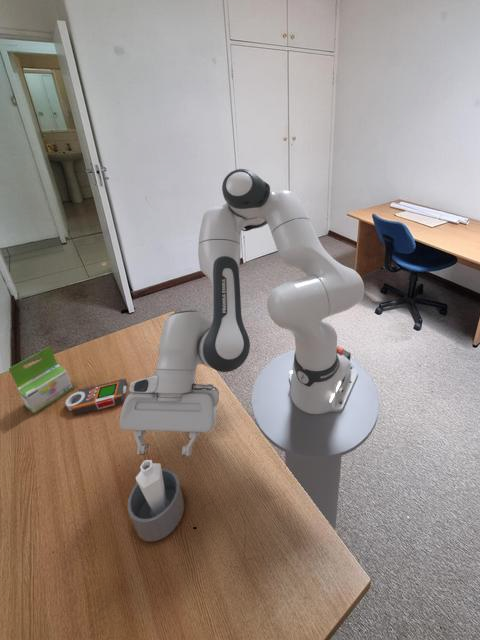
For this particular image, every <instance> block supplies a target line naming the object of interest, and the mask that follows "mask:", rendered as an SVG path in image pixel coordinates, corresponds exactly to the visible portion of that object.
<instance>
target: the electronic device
mask: <svg viewBox="0 0 480 640" xmlns="http://www.w3.org/2000/svg"><path fill="white" fill-rule="evenodd" d="M127 388H128V381H127V378H121V379H118V380H113V381H110V382H105V383H101V384H98V385H92V386H89V387H85V388H80V389H78V391H76V392H74V393H72V394H71V395H69V396H68V397H67V398H66V400H65V402H64V404H65V406H66V408H67V410H68V411H70V412H72V413H73V415H74V416H76V415H79V414H83V413H87V412H91V411H94V410H98V411H99V410H102V409H106V408H110V407H113V406H115V405H119V404H122V403H124V402H125V398H126V394H127V393H126V392H127Z"/></svg>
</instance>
